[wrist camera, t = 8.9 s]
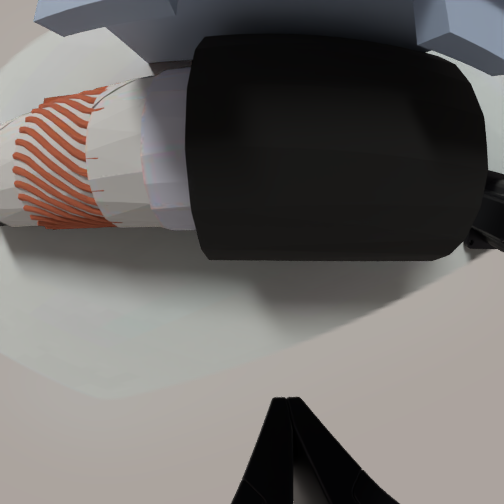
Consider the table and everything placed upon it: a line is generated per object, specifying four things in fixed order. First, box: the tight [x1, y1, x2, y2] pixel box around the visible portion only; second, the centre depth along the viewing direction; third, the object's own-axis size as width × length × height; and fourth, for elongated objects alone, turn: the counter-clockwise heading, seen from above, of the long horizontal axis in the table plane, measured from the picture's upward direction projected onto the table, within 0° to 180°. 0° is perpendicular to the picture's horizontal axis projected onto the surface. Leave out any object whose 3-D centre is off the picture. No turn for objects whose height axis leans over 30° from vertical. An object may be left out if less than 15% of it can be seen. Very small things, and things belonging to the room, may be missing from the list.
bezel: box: [34, 0, 504, 76], centre depth 10 cm, size 14×4×14 cm, turn 89°
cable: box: [0, 33, 488, 261], centre depth 14 cm, size 10×34×10 cm, turn 88°
